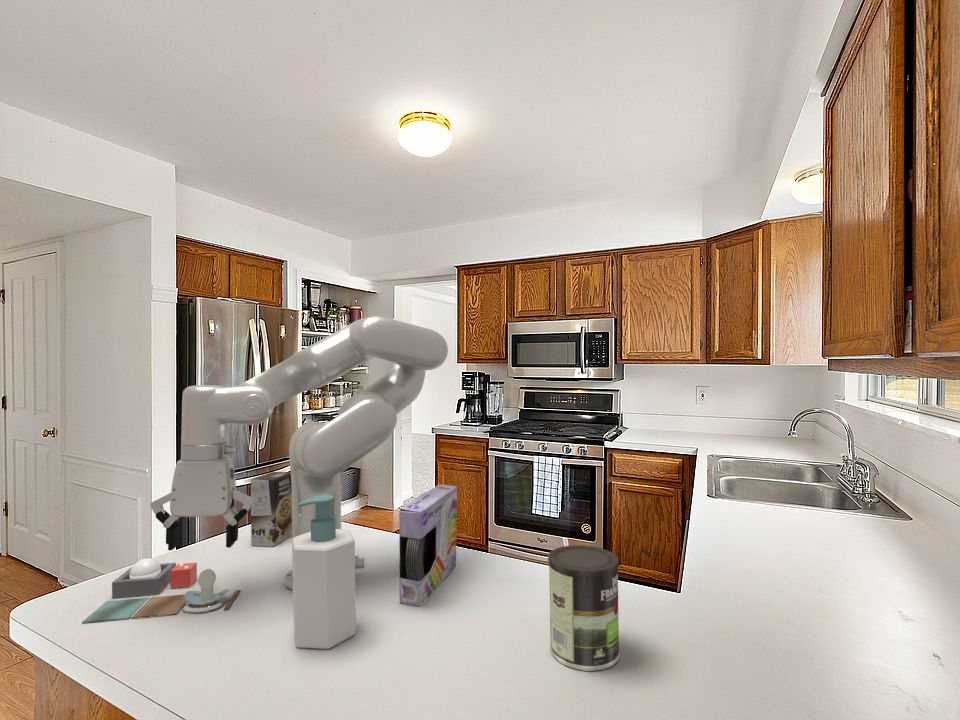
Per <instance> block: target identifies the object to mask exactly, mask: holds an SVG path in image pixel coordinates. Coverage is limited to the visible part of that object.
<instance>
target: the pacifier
mask: <svg viewBox="0 0 960 720" xmlns="http://www.w3.org/2000/svg"><path fill="white" fill-rule="evenodd" d="M216 579H217V576H216V573H215V571H214V570H213V569H210V568H208V569H207V568H206V569H204V570H202V571H201V572H200V573H199V576H198V577H197V582H198V585H199V587H200V591H199V590H188V591H186V592H185V593H184V594H185V600H186V601H187V603H186V604H185V605H184V606H183V608H182V610H183V611H184V612H186V613H190V614H196V613H199V614H200V613H206V612H212V611H214V610H216V609H218V608H220V607H221V606H223V603H222V601H221V600H220V599H221V598H222V597H224V596H225V595H227V593H229V591H230V588H226V589H223V590H221V591H218V592H215V593H214V584H215V582H216ZM194 605H195V606H194ZM196 606H197V607H196ZM208 606H210V607H208ZM195 607H196V608H195ZM199 607H205V608H199Z"/></svg>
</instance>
